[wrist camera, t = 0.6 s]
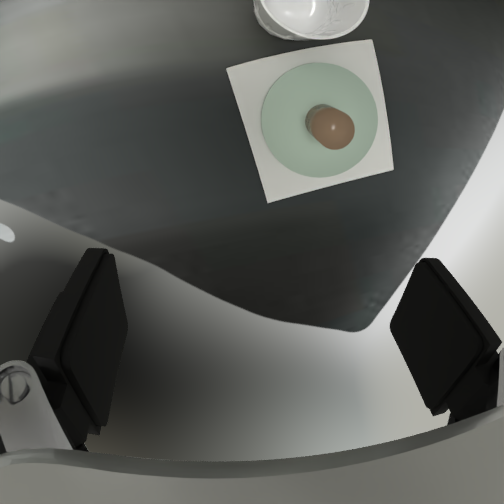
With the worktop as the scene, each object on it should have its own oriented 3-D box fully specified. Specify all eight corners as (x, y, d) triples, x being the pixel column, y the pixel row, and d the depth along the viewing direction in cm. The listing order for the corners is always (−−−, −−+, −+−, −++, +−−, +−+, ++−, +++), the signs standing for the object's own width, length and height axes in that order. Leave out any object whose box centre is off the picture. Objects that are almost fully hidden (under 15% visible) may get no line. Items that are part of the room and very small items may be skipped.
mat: (370, 39, 26) (372, 39, 25) (391, 168, 34) (393, 169, 34) (225, 68, 27) (226, 68, 27) (267, 201, 35) (267, 203, 35)
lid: (362, 54, 26) (384, 55, 22) (380, 160, 33) (401, 176, 29) (245, 78, 27) (249, 80, 23) (277, 186, 34) (285, 207, 30)
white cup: (235, -14, 22) (240, -45, 14) (312, -32, 21) (347, -62, 13) (263, 54, 27) (280, 51, 18) (338, 35, 26) (383, 29, 17)
